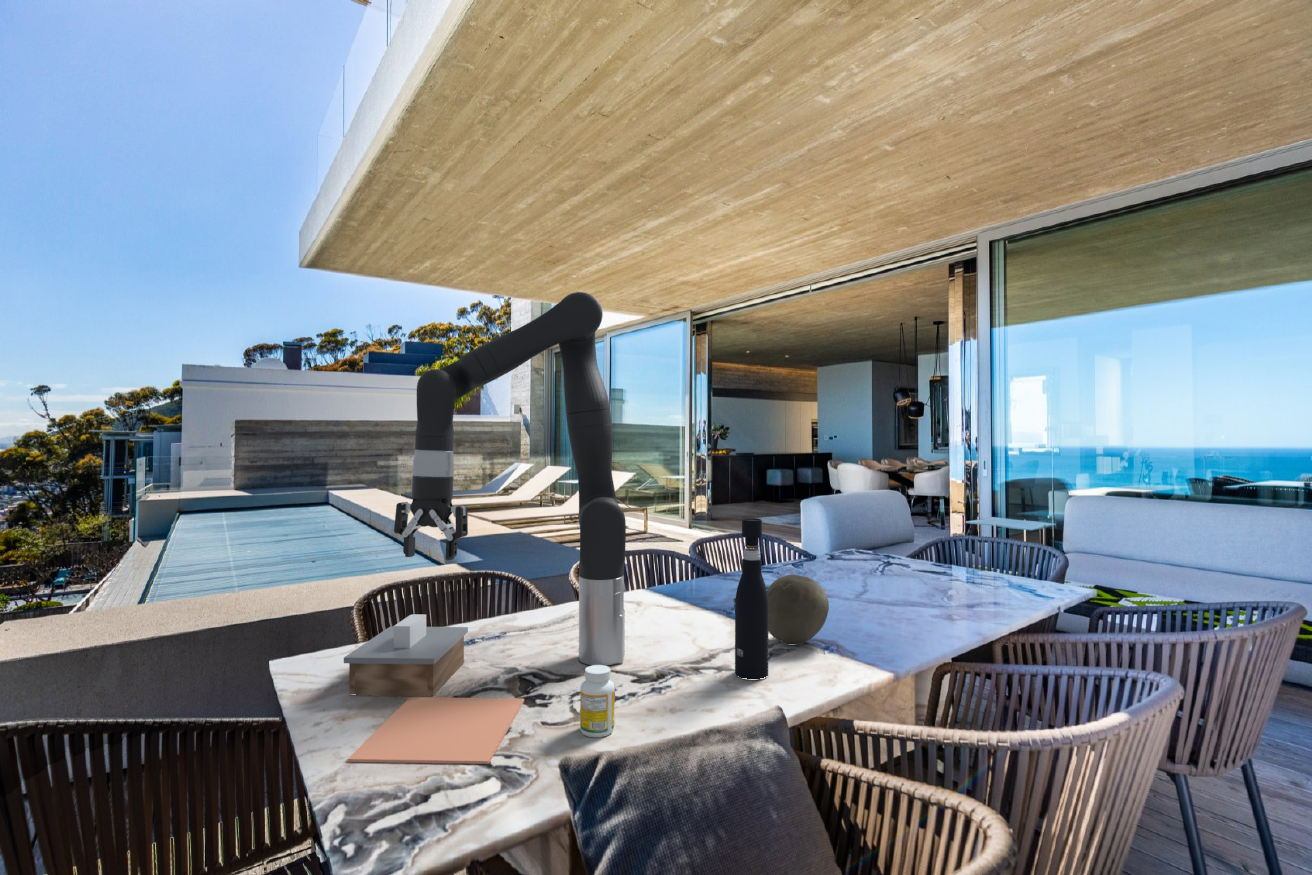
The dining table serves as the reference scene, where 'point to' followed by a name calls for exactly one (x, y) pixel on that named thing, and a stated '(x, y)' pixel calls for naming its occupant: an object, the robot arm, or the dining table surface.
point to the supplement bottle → (597, 702)
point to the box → (405, 676)
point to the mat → (441, 731)
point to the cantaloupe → (796, 609)
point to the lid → (408, 643)
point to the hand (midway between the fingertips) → (429, 558)
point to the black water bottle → (751, 609)
